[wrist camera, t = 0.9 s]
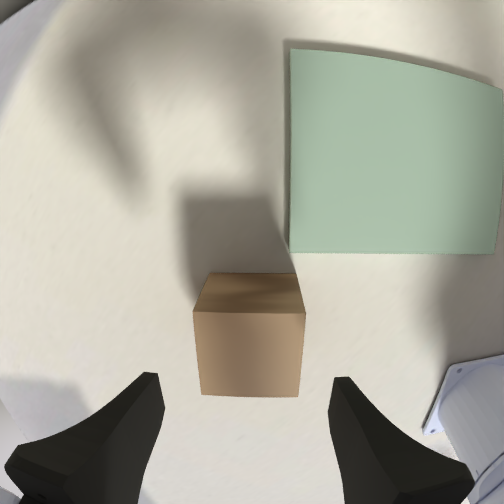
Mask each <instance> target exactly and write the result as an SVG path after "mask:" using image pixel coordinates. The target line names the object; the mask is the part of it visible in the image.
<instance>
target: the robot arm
mask: <svg viewBox="0 0 504 504" xmlns="http://www.w3.org/2000/svg"><path fill="white" fill-rule="evenodd" d="M164 411H165V405H164V400H163V396H162V391H161V387H160V382H159V377H158V373H150V372H143V373H142V374H141V375H140V376H139V377H138V378H137V379H135V380H134V381H133V382H132V383H131V384H130V385H129V386H128V387H127V388H126V389H124V390H123V391H122V392H121V393H120V394H119V395H117V396H116V397H115V398H114V399H113V400H112V401H110V402H109V403H108V404H106V405H105V406H104V407H103V408H101V409H100V410H99V411H97V412H96V413H94V414H93V415H91V416H90V417H88V418H87V419H85V420H83V421H82V422H80V423H78V424H76V425H74V426H72V427H70V428H68V429H66V430H64V431H62V432H60V433H57V434H55V435H52V436H50V437H47V438H44V439H41V440H37V441H34V442H30V443H25V444H21V445H18V446H17V447H16V449H15V450H14V452H13V453H12V455H11V456H10V458H9V459H8V461H7V462H6V464H5V466H4V468H5V471H6V473H7V475H8V476H9V477H10V479H11V480H12V481H13V482H14V483H15V485H16V486H17V487H18V488H19V489H20V490H21V492H22V493H23V494H24V495H23V497H22V499H20V498H19V497H18V496H16V495H15V494H13V493H11V492H10V491H8V490H6V489H4V488H2V487H0V504H138V499H139V494H140V489H141V484H142V480H143V476H144V472H145V469H146V466H147V463H148V461H149V458H150V455H151V453H152V450H153V447H154V445H155V442H156V439H157V437H158V434H159V431H160V428H161V425H162V420H163V416H164ZM328 418H329V427H330V434H331V438H332V442H333V445H334V449H335V453H336V457H337V461H338V465H339V469H340V473H341V478H342V483H343V492H344V501H345V504H461V503H462V501H463V500H464V499H465V498H466V497H467V498H468V500H469V502H470V504H504V354H503V355H499V356H494V357H489V358H485V359H480V360H475V361H469V362H464V363H458V364H453V365H451V366H450V367H449V369H448V371H447V374H446V376H445V379H444V382H443V384H442V387H441V389H440V392H439V394H438V397H437V399H436V401H435V404H434V406H433V408H432V411H431V413H430V415H429V418H428V420H427V422H426V424H425V426H424V428H423V430H422V432H423V435H430V434H435V433H439V432H443V431H445V433H446V435H447V437H448V439H449V440H450V442H451V444H452V446H453V448H454V450H455V452H456V454H457V456H458V458H459V460H460V462H459V461H457V460H454V459H451V458H448V457H446V456H443V455H441V454H439V453H437V452H435V451H433V450H431V449H429V448H427V447H425V446H424V445H422V444H420V443H419V442H417V441H415V440H414V439H412V438H411V437H409V436H408V435H406V434H405V433H404V432H403V431H401V430H400V429H399V428H397V427H396V426H395V425H394V424H392V423H391V422H390V421H389V420H388V419H387V418H386V417H385V416H384V415H383V414H382V413H381V412H380V411H379V410H378V409H377V408H376V407H375V406H374V405H373V404H372V403H371V402H370V401H369V400H368V398H367V397H366V396H365V395H364V394H363V393H362V391H361V390H360V389H359V388H358V387H357V385H356V384H355V383H354V382H353V381H352V379H351V378H350V377H334V382H333V388H332V393H331V398H330V404H329V409H328Z"/></svg>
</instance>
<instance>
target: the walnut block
mask: <svg viewBox="0 0 504 504" xmlns="http://www.w3.org/2000/svg"><path fill="white" fill-rule="evenodd" d="M305 319H306V312H305V307H304V303H303V299H302V295H301V291H300V287H299V283H298V278H297V274H293V273H209V276H208V278H207V280H206V282H205V284H204V287H203V289H202V291H201V294H200V296H199V298H198V300H197V303H196V305H195V307H194V309H193V322H194V332H195V342H196V352H197V361H198V370H199V378H200V387H201V395H215V396H235V397H298V393H299V384H300V374H301V364H302V354H303V343H304V331H305Z"/></svg>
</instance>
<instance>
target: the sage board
mask: <svg viewBox="0 0 504 504" xmlns="http://www.w3.org/2000/svg"><path fill="white" fill-rule="evenodd" d="M289 56H290V211H289V253H364V254H494V251H495V245H496V239H497V233H498V226H499V218H500V210H501V200H502V189H503V175H504V105H503V91H502V89H499V88H496V87H493V86H491V85H488V84H485V83H482V82H479V81H476V80H472V79H469V78H466V77H463V76H459V75H456V74H452V73H449V72H445V71H441V70H437V69H433V68H429V67H425V66H420V65H416V64H411V63H406V62H401V61H396V60H391V59H385V58H379V57H373V56H366V55H359V54H351V53H342V52H332V51H321V50H307V49H290V53H289Z"/></svg>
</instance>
